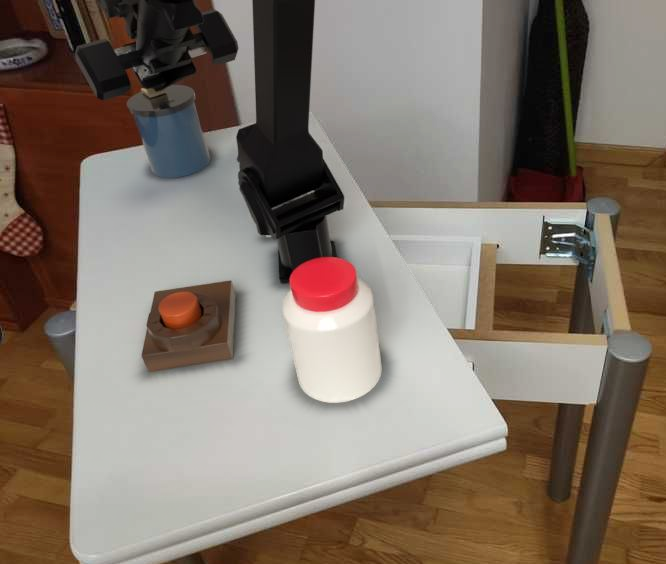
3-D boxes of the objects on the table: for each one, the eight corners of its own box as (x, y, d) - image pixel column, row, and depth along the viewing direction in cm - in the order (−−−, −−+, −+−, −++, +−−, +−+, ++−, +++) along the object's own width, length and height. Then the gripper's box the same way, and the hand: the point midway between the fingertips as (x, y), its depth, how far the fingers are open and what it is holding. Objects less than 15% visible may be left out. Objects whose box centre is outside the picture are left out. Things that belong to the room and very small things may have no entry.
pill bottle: (372, 406, 57) (359, 308, 50) (287, 399, 58) (262, 303, 51) (388, 346, 63) (378, 250, 55) (310, 341, 64) (291, 247, 57)
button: (200, 326, 61) (195, 312, 60) (161, 332, 61) (155, 318, 60) (203, 303, 64) (198, 289, 63) (166, 308, 64) (160, 294, 63)
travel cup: (223, 163, 94) (205, 95, 88) (164, 185, 91) (141, 116, 84) (196, 144, 100) (177, 79, 93) (140, 164, 96) (116, 98, 90)
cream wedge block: (166, 92, 90) (163, 81, 89) (150, 97, 89) (146, 86, 88) (157, 87, 92) (154, 76, 91) (141, 92, 91) (138, 81, 90)
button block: (232, 361, 63) (222, 330, 60) (148, 374, 62) (134, 343, 60) (236, 296, 70) (227, 265, 68) (160, 307, 70) (148, 277, 67)
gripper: (204, -64, 78) (190, 17, 92) (45, -29, 70) (57, 54, 84) (250, 20, 78) (229, 88, 92) (97, 63, 70) (100, 130, 84)
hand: (156, 88), depth 88 cm, fingers closed, pressing on cream wedge block
